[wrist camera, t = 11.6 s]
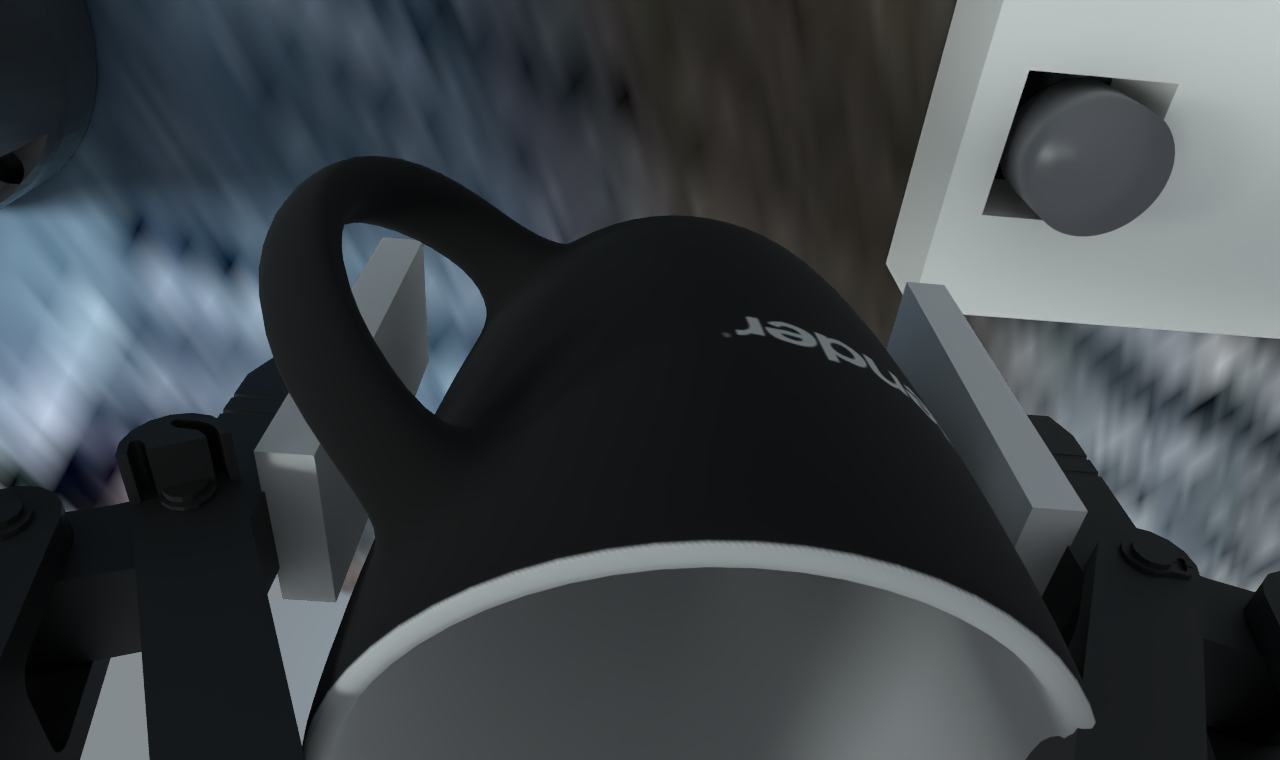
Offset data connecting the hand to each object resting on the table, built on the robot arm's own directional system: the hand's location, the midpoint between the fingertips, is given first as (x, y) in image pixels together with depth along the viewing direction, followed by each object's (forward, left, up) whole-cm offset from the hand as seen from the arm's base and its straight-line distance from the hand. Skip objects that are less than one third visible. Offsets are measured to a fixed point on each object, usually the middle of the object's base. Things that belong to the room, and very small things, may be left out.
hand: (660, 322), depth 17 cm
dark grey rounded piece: (+14, 0, -15) cm, 21 cm away
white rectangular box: (+21, 0, -18) cm, 28 cm away
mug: (-1, 0, -1) cm, 1 cm away
